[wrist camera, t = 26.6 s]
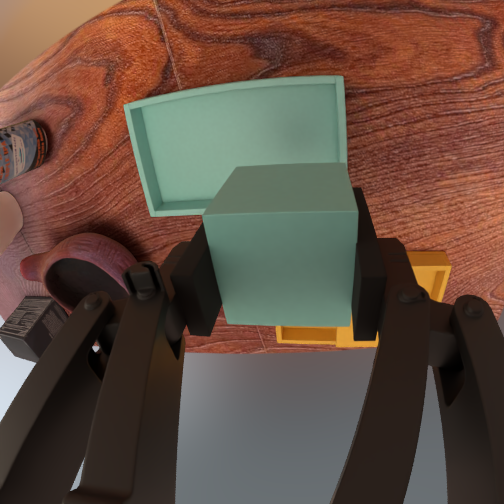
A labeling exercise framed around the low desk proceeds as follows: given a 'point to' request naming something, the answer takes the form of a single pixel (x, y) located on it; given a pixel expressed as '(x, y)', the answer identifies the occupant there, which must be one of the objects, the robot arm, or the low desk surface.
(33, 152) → the beverage can
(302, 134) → the teal tray
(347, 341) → the ochre block
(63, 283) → the bowl
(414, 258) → the ochre tray
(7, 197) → the cup
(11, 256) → the low desk surface
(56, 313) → the small box
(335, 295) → the teal block
